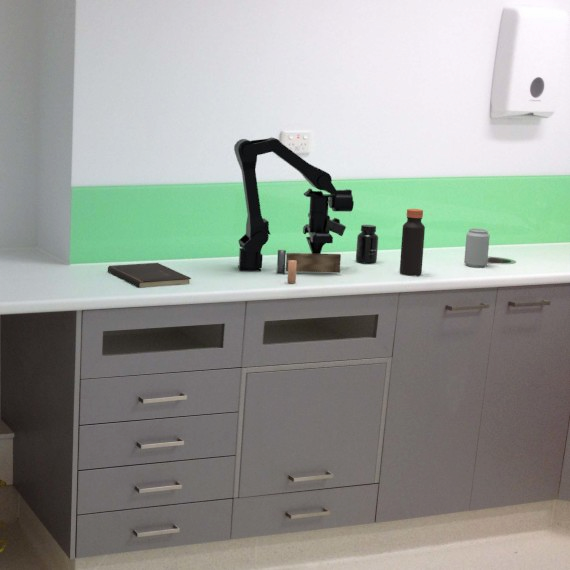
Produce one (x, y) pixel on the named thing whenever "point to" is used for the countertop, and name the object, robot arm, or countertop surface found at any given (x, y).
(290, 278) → the catch post
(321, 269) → the brown long plank slab
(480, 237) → the can
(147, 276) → the hardcover book
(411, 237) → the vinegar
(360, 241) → the supplement bottle
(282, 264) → the hinge post
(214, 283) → the countertop surface
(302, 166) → the robot arm
